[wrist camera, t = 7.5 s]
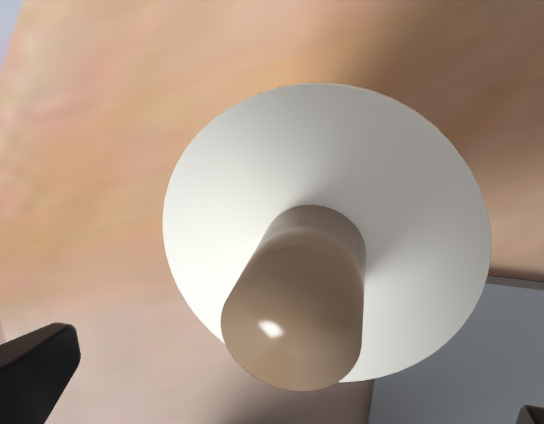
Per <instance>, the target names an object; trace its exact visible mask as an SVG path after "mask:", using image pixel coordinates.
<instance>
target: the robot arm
mask: <svg viewBox="0 0 544 424" xmlns="http://www.w3.org/2000/svg"><path fill="white" fill-rule="evenodd" d="M80 358H81V353H80V348H79V342H78V337H77V332H76V329H75V327H74V326H72V325H70V324H64V323H52V324H50V325H47V326H45V327H43V328H40V329H38V330H35V331H33V332H30V333H28V334H26V335H23V336H21V337H18V338H16V339H14V340H11V341H9V342H6V343H4V344H1V345H0V424H44V423H45V421H46V420H47V418H48V416H49V415H50V413H51V411H52V410H53V408H54V406H55V405H56V403H57V401H58V399H59V398H60V396H61V394H62V393H63V391H64V389H65V388H66V386H67V384H68V383H69V381H70V379H71V377H72V376H73V374H74V372H75V371H76V369H77V367H78V365H79V362H80ZM515 424H544V407H538V406H533V405H523V406H522V407H521V409H520V411H519V414H518V417H517V420H516V423H515Z"/></svg>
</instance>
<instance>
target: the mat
mask: <svg viewBox="0 0 544 424" xmlns="http://www.w3.org/2000/svg"><path fill="white" fill-rule="evenodd" d="M523 405H533V406H538V407H544V282H538V281H530V280H521V279H513V278H505V277H497V276H489V275H487V279H486V282H485V285H484V288H483V291H482V294H481V296H480V298H479V300H478V302H477V304H476V306H475V308H474V310H473V312H472V313H471V314H470V316H469V317H468V319H467V320H466V322H465V323H464V324H463V326H462V327H461V328H460V329H459V330H458V332H457V333H456V334H455V335H454V336H453V337H452V338H451V339H450V340H449V341H448V342H447V343H446V344H444V345H443V346H442V347H441V348H439V349H438V350H437V351H436V352H434V353H433V354H431V355H430V356H428V357H427V358H425V359H423V360H422V361H420V362H418V363H417V364H414V365H412V366H410V367H408V368H406V369H403V370H401V371H399V372H396V373H392V374H389V375H386V376H383V377H379V378H374V382H373V389H372V396H371V404H370V411H369V418H368V424H515V423H516V420H517V417H518V414H519V411H520V409H521V407H522V406H523Z"/></svg>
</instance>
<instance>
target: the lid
mask: <svg viewBox="0 0 544 424" xmlns="http://www.w3.org/2000/svg"><path fill="white" fill-rule="evenodd" d="M163 238H164V245H165V251H166V256H167V259H168V262H169V266H170V269H171V272H172V274H173V277H174V279H175V281H176V284H177V286H178V288H179V290H180V292H181V293H182V295H183V297H184V298H185V300H186V302H187V303H188V305H189V306H190V308H191V309H192V310H193V312H194V313H195V314H196V316H197V317H198V318H199V319H200V320H201V321H202V323H203V324H204V325H205V326H206V327H207V328H208V329H209V330H210V331H211V332H212V333H213V334H214V335H216V336H217V337H218V338H219V339H220V340H221V341H222V342H223V343H225V344H226V347H227V349H228V350H229V352H230V354H231V355H232V357H233V358H234V359H235V361H236V362H237V363H238V364H239V365H240V366H241V367H242V368H243V369H244V370H246V371H247V372H248V373H249V374H251V375H252V376H254V377H255V378H257V379H259V380H260V381H262V382H264V383H267V384H269V385H271V386H274V387H277V388H281V389H285V390H291V391H313V390H318V389H323V388H326V387H329V386H331V385H333V384H335V383H337V382H353V381H363V380H369V379H374V378H379V377H383V376H386V375H389V374H392V373H396V372H399V371H401V370H403V369H406V368H408V367H410V366H412V365H414V364H417V363H418V362H420V361H422V360H423V359H425V358H427V357H428V356H430V355H431V354H433V353H434V352H436V351H437V350H438V349H439V348H441V347H442V346H443V345H444V344H446V343H447V342H448V341H449V340H450V339H451V338H452V337H453V336H454V335H455V334H456V333H457V332H458V330H459V329H460V328H461V327H462V326H463V324H464V323H465V322H466V320H467V319H468V317H469V316H470V314H471V313H472V312H473V310H474V308H475V306H476V304H477V302H478V300H479V298H480V296H481V294H482V291H483V288H484V285H485V282H486V279H487V275H488V271H489V264H490V258H491V228H490V223H489V217H488V211H487V207H486V204H485V201H484V198H483V196H482V193H481V190H480V187H479V185H478V183H477V181H476V180H475V178H474V176H473V174H472V172H471V170H470V168H469V166H468V165H467V164H466V162H465V161H464V159H463V158H462V157H461V155H460V154H459V153H458V151H457V150H456V148H455V147H454V146H453V144H452V143H451V142H450V140H449V139H448V138H447V137H446V136H445V135H444V134H443V133H442V132H441V131H440V130H439V129H438V128H437V127H436V126H435V125H434V124H432V123H431V122H430V121H429V120H427V119H426V118H425V117H423V116H422V115H421V114H419V113H418V112H417V111H415V110H414V109H412V108H410V107H408V106H407V105H405V104H403V103H401V102H399V101H398V100H396V99H394V98H391V97H389V96H386V95H384V94H381V93H379V92H376V91H374V90H370V89H366V88H362V87H358V86H354V85H350V84H341V83H331V82H309V83H298V84H292V85H286V86H281V87H277V88H274V89H271V90H268V91H265V92H262V93H259V94H257V95H255V96H252V97H250V98H248V99H246V100H244V101H242V102H240V103H238V104H236V105H234V106H232V107H230V108H229V109H227V110H226V111H225V112H223V113H222V114H220V115H219V116H217V117H216V118H214V119H213V120H212V121H211V122H210V123H209V124H208V125H207V126H205V127H204V128H203V129H202V130H201V131H200V132H199V133H198V134H197V135H196V137H195V138H194V139H193V140H192V142H191V143H190V144H189V145H188V147H187V148H186V149H185V151H184V153H183V154H182V156H181V158H180V159H179V161H178V163H177V164H176V167H175V169H174V172H173V174H172V176H171V179H170V181H169V185H168V189H167V193H166V197H165V201H164V210H163Z"/></svg>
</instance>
